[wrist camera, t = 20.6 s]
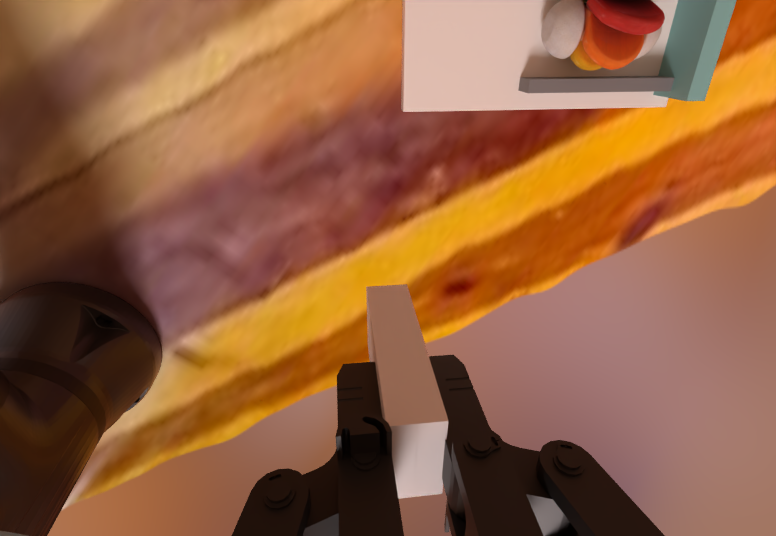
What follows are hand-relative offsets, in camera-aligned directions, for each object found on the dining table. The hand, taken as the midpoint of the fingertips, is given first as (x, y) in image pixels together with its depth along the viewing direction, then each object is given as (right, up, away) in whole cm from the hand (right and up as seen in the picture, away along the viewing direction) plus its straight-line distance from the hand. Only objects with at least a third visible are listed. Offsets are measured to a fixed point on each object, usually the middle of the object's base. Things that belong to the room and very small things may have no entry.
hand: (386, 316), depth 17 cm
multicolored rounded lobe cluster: (+16, +22, +17) cm, 32 cm away
